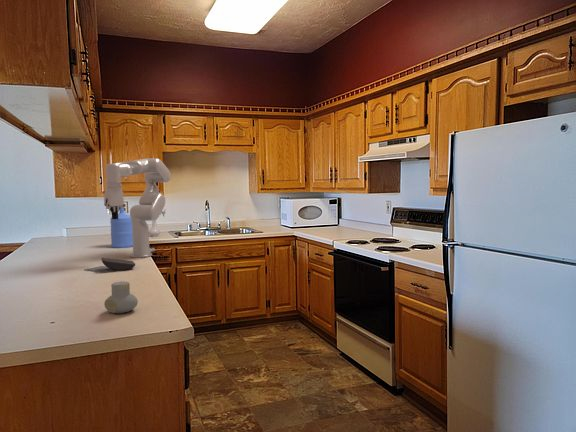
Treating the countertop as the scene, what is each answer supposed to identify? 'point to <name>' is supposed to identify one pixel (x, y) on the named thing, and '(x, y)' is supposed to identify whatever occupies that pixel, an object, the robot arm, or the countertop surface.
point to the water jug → (121, 231)
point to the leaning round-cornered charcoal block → (118, 264)
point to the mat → (100, 269)
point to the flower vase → (155, 227)
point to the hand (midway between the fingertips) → (115, 218)
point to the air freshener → (120, 298)
